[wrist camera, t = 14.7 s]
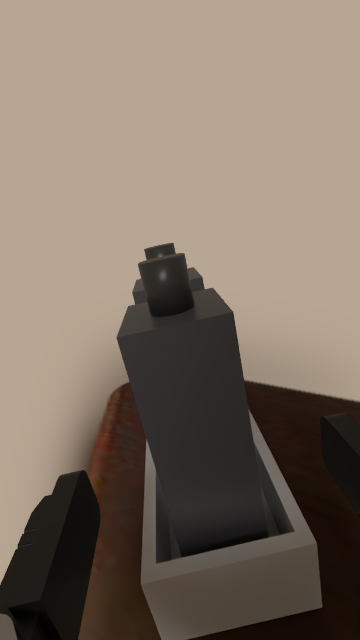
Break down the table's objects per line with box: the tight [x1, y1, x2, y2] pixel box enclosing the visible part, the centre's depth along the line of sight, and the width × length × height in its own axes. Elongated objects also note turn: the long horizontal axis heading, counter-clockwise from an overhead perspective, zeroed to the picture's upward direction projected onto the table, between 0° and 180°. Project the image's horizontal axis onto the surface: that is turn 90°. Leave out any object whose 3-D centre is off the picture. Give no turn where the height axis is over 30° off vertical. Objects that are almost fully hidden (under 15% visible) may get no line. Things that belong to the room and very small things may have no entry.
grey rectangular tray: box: [141, 408, 322, 640], centre depth 19 cm, size 14×7×5 cm, turn 5°
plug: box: [117, 253, 269, 558], centre depth 14 cm, size 4×4×15 cm
